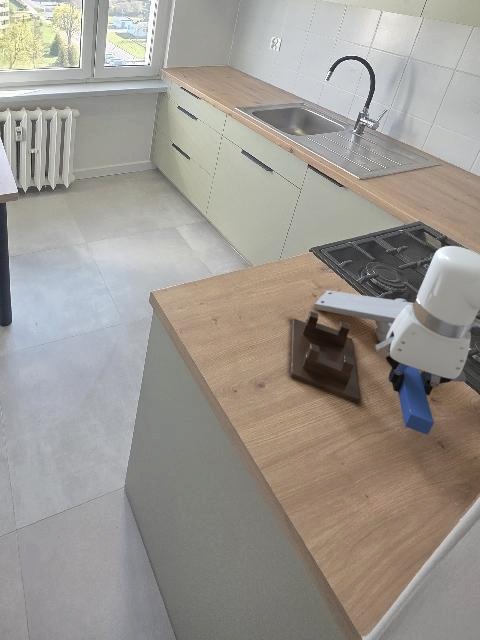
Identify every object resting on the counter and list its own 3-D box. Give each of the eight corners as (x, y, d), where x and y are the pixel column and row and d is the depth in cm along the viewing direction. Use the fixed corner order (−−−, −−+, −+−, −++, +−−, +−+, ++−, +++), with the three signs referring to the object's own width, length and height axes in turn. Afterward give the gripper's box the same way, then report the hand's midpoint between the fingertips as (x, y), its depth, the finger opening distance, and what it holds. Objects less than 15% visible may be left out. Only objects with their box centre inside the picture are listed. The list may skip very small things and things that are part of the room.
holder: (350, 341, 92) (359, 320, 89) (358, 402, 80) (368, 379, 77) (292, 321, 97) (299, 300, 94) (290, 376, 84) (298, 353, 81)
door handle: (324, 335, 100) (424, 358, 84) (314, 303, 100) (412, 321, 84) (353, 299, 111) (447, 313, 94) (344, 270, 110) (437, 280, 94)
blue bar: (407, 357, 83) (412, 346, 82) (427, 435, 70) (434, 423, 68) (388, 351, 84) (393, 340, 83) (405, 426, 71) (411, 414, 70)
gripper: (494, 316, 70) (455, 389, 77) (379, 284, 76) (353, 355, 83) (513, 352, 64) (468, 428, 71) (386, 314, 70) (357, 388, 77)
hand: (406, 388), depth 77 cm, fingers closed on blue bar, 3 cm apart
